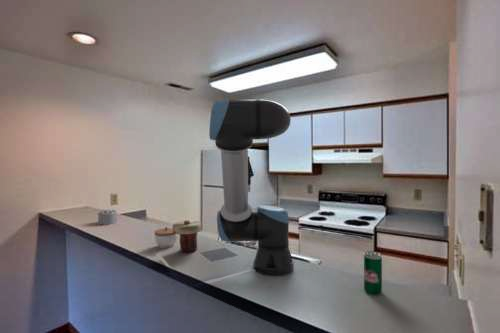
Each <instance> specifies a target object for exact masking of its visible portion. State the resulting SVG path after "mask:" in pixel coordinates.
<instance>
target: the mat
mask: <svg viewBox="0 0 500 333" xmlns="http://www.w3.org/2000/svg"><path fill="white" fill-rule="evenodd" d="M200 254H201V255H202V256H203V257H205V258H206V259H207V260H209V261H210V262H214V261H215V262H216V261H219V260H224V259H228V258H233V257H236V256H238V254H236V253H235V252H233V251H231V250H229V249H228V248H226V247H222V248H217V249H216V248H215V249H212V250H207V251H203V252H200Z"/></svg>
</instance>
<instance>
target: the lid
mask: <svg viewBox="0 0 500 333" xmlns="http://www.w3.org/2000/svg"><path fill="white" fill-rule="evenodd" d="M201 225H202V223H201V222H200V221H196V220H184V221H182V220H181V221H177V222H175V223H173V224H172V228H173V233H176V234H178V235H180V234H193V233H197V232H198V233H199V232H201V231H202V226H201ZM198 233H197V234H198Z"/></svg>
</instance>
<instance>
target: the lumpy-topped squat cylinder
mask: <svg viewBox="0 0 500 333" xmlns="http://www.w3.org/2000/svg"><path fill="white" fill-rule="evenodd" d="M97 216H98V218H97V220H98V221H97V223H99V225H100V224H103V225H102V226H110V225H109V224H113V225H115V223H116V224H117V223H118V217H117V216H118V212H117V211H116V209H103V210H100V211H99V212H98V213H97Z"/></svg>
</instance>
